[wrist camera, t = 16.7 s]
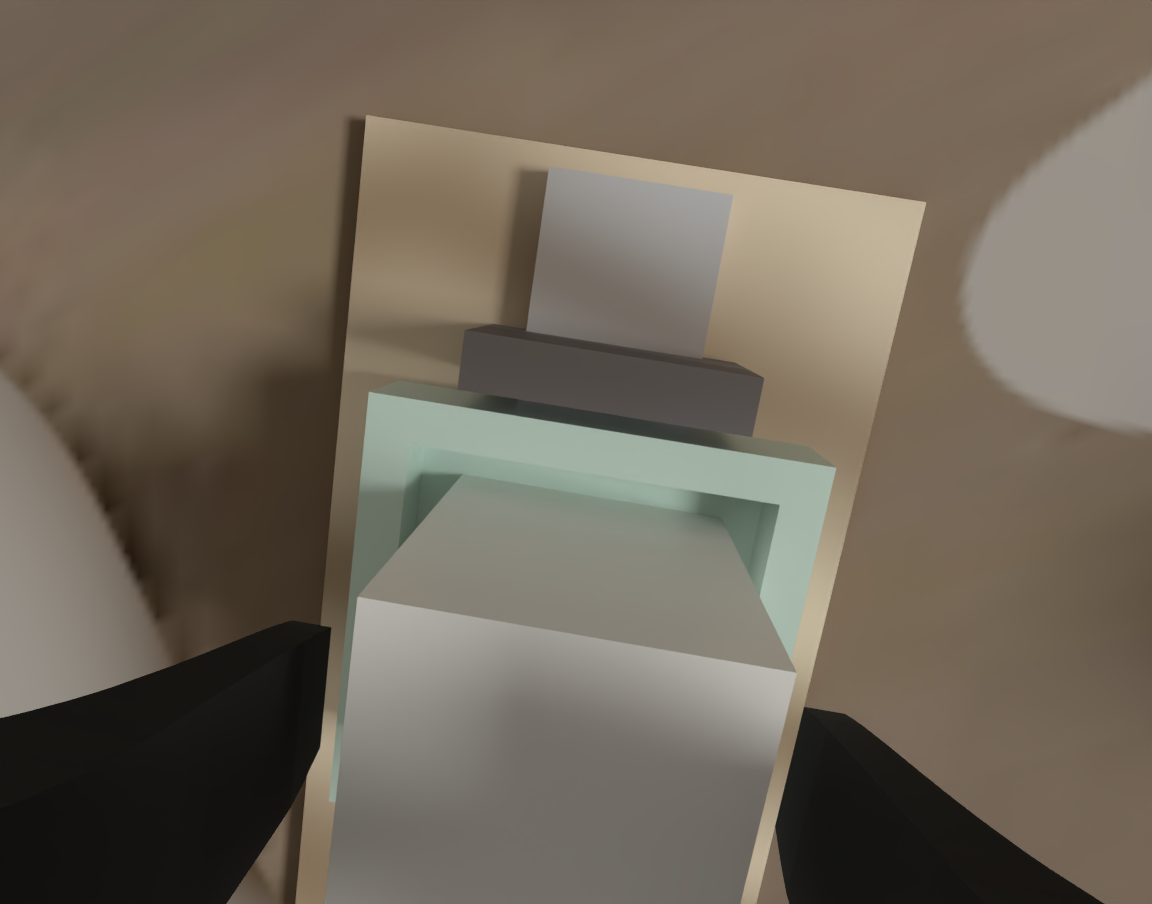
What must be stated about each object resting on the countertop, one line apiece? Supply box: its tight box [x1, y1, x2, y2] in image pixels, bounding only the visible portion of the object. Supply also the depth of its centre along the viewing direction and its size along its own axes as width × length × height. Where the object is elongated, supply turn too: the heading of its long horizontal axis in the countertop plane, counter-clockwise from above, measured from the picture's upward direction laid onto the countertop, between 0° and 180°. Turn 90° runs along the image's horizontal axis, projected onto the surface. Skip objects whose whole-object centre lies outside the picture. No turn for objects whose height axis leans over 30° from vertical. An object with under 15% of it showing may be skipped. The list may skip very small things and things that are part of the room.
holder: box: [329, 380, 836, 802], centre depth 14 cm, size 8×8×2 cm
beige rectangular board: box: [295, 115, 926, 904], centre depth 15 cm, size 21×11×3 cm, turn 171°
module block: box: [325, 474, 797, 904], centre depth 12 cm, size 5×5×6 cm
